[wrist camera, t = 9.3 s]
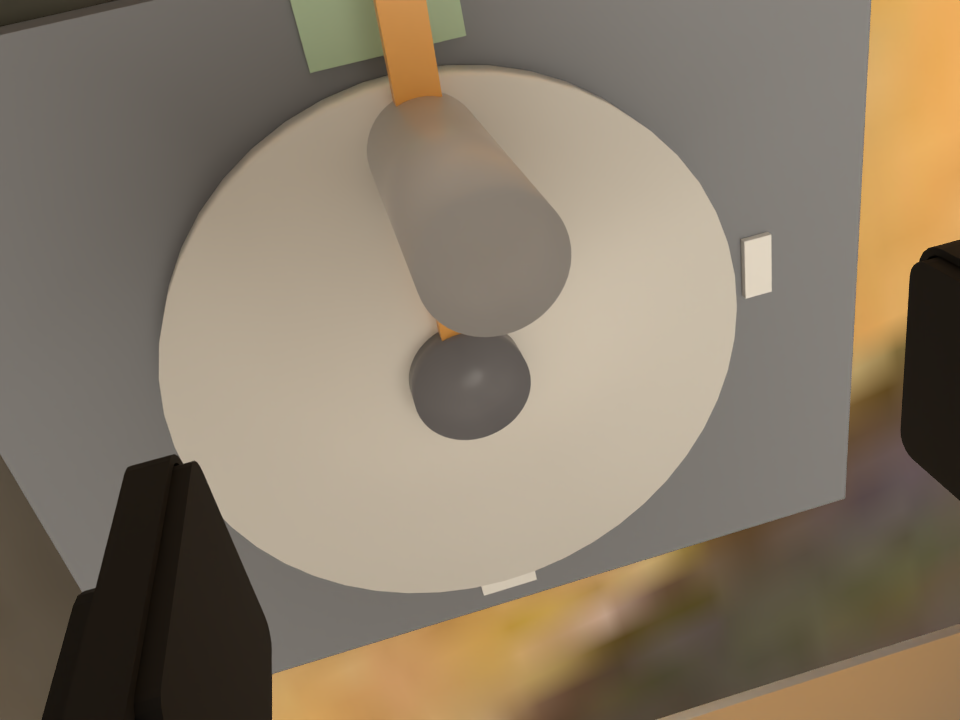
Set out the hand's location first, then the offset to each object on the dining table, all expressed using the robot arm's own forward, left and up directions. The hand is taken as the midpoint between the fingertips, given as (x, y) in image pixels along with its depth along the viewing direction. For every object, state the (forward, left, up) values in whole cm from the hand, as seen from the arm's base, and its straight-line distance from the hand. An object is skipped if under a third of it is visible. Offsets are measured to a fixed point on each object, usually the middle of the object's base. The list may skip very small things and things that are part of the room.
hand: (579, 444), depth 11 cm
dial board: (-5, 0, -14) cm, 14 cm away
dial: (-4, 0, -12) cm, 12 cm away
